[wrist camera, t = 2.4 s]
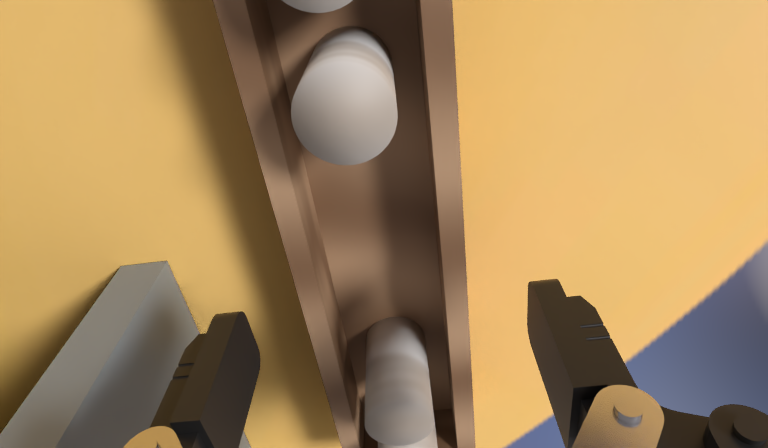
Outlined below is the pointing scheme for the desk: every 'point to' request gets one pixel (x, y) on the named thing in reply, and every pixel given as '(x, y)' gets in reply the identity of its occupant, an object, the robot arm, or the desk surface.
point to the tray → (366, 202)
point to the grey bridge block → (110, 367)
